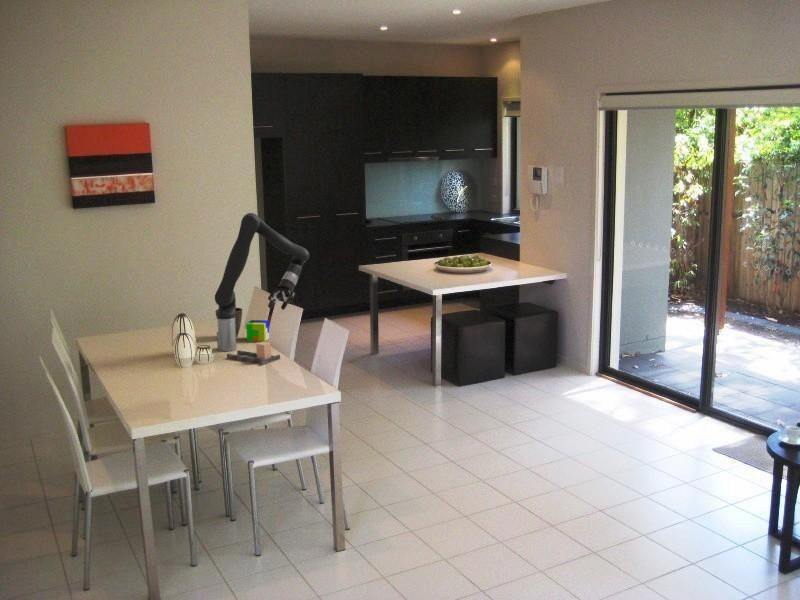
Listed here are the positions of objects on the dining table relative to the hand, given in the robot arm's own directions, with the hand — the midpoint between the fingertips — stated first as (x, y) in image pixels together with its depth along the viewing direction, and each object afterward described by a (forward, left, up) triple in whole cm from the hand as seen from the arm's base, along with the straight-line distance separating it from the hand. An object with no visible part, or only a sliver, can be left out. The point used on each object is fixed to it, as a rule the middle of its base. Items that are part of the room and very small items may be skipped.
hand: (275, 308), depth 426 cm
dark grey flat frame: (-5, -14, -25) cm, 29 cm away
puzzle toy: (-34, +25, -26) cm, 49 cm away
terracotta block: (+3, -14, -24) cm, 28 cm away
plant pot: (-51, +21, -26) cm, 61 cm away
